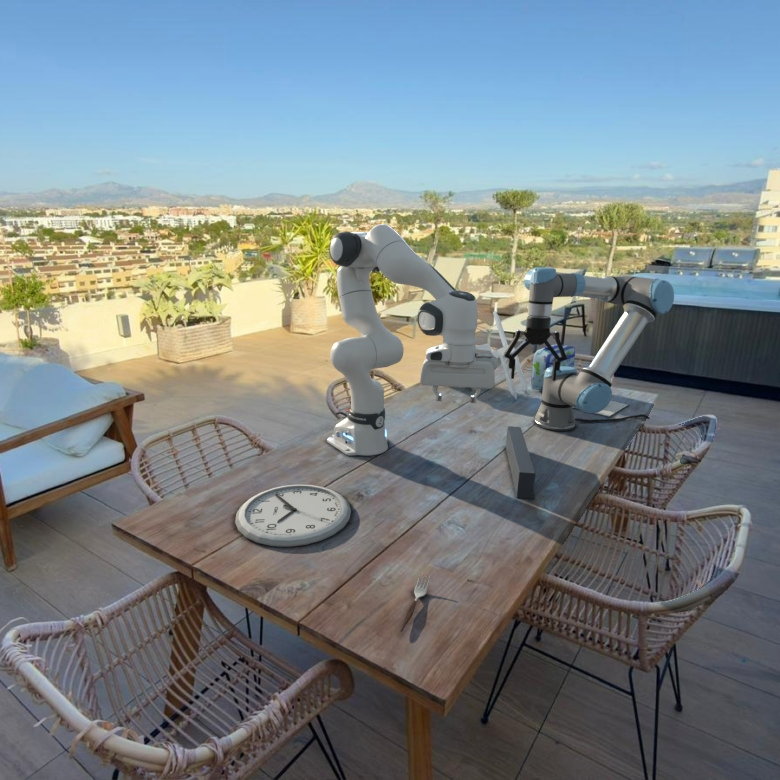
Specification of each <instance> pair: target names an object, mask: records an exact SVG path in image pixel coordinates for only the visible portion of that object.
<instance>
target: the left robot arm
mask: <svg viewBox="0 0 780 780" xmlns="http://www.w3.org/2000/svg"><path fill="white" fill-rule="evenodd" d="M328 247H329V248H328V251H329V256H330V258H331V260H332V262H333V263H334V264H335V265H338V266H339V267H338V268H337V271H336V287H337V288H336V289H337V295H338V300H339V304H340V305H339V306H340V309H341V315H342V319H343V321H344V323H345V324H346V325H347V326H349V327H351V328H354V329H355V330H356V331H357V332H358V333H359V334H360V336H356V337H347V338H344V339H341V340H339V341H338V340H337V341H335V342H334V343H333V345H332V346H331V349H330V351H329V352H330V353H329V358H330V363H331V365H332V366H333V367H334V369H335V370H336V371H337V372H338V373H341V374H342V375H343V376H344V378H345V379H346V380H347V383H348V385H349V389H350V390H349V393H350V407H348V408H345V412H344V411H337V412H336V413H335V415H336V416H338V415H343V416H344V417H345V418H343V419H342V420H341V421H339V422H338V423H336V425H335V426H334V427H333V434H331V435H330V436H329V437H327V439H326V443H328V444H329V445H330V446H332V447H334V448H336V449H337V450H339V451H340V452H341V453H343V454H345V456H348V457H349V456H367V457H368V456H377V455H380V454H383V453H385V452H386V451H387V450H388V449H389V446H388V445H389V444H388V437H387V434H388V433H387V429H386V422H385V420H386V408H385V388H384V386H383V384H382V383H381V382H380V381H378V380H376V379H374V378H372V377H371V370H376V369H383V368H388V367H391V366H394V365H396V364H399V362H401V361H402V359H403V356H404V350H405V349H404V344H403V341H402V340H401V338H400V337H398V336H397V335H395V334H393V333H392V332H391V331H390V330H389V329H388V328H387V327H386V326H385V325H384V323H383V322H382V320H381V319H380V316H379V314H378V311H377V308H376V303H375V299H374V294H373V290H372V287H371V284H370V283H371V282H370V275H371V272H372V273H374V274H377V273H379V272H381V274H382V275H383V277H385V278H386V279H387V280H389V281H390V282H392V283H394V284H396V285H397V284H398V285H404V286H411V287H415V288H419V289H422V290H424V291H426V292H428V294H430V295H431V296H432V297H433V298H434V299H433V300H430V301H427V302H424V303H423V304H421V306H420V307H419V309H418V312H417V317H416V320H417V325H418V328H419V330H420V331H421V332H422V333H423V334H425V336H429V337H439V336H441V337H442V344H439V345H436V346H432V347H431V346H430V347H428V348H427V349H426V351H425V358H424V360H423V363H422V365H421V371H420V376H419V377H420V378H419V382H420V384H421V385H422V386H427V387H428V386H429V387H430V386H431V387H432V391H433V393H434V395H435V396H436V397H435V401H436V402H442V399H443V394H442V393H439V391H438V390H439V387H450V388H469V389H475V393H474V394H472V395H470V404H476V403H477V398H478V397H479V396H480V394H481V392H482V389H488V390H489V389H490V390H491V389H493V388H494V387H495V385H496V374H495V371H496V369H497V368H498V367H497V359H496V357H494V356H492V355H491V354H476V353H475V349H476V346H477V340H476V331H477V327H478V320H479V319H478V313H479V311H478V310H479V309H478V302H477V299H476V296H475V295H474V294H473V293H470V292H468V291H463V290H457V289H456V288H455V287H454V286H453V285H452V284H451V283H450V282H449V281H448V280H447V279H446V278H445V277H444V276H443V275H442V273H440V272H439V271H438V270H437V269H436V268H435V267H434V266H432V265H431V264H430V263H428V262H427V261H426V260H425V259H423V258H421V256H419V255H418V254H417V253H416V252H415V251H414V250H413V249H412V248H411V247H410V245H409V244H408V243H407V242H406V241H405V239H404V238H403V236H401V235H400V234H399V233H398V232H397V231H396V230H395V229H394V228H392V227H391V226H390V225H388V224H383V223H382V224H376V225H375V226H372V228H370V229H369V231H341V232H338V233H335V234H333V236H332V237H331V240H330V242H329V246H328ZM492 357H493V358H492Z"/></svg>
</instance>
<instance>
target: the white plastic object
mask: <svg viewBox="0 0 780 780" xmlns="http://www.w3.org/2000/svg"><path fill="white" fill-rule="evenodd" d="M492 315H493V319H494V321H495V324H496V325H495V326H496V328H497V332H498V335H499V338H500V342H501V345H502V347H500V348H498V349H496V350H495V349H493V348H492V347H491V346H490V344H489V343H488V342H487V343H483V344H479V345H476V349H475V353H476V354H491V355H492V356H494V357H496V359H497V368H499V367H500V366H502V370H503V373H504V376H505V380H506V383H507V386H508V390H509V393H510V394H511V395H512V397H513V398H514V399H515V400H517V392H516V391H517V390H516V388H515V385H514V381H513V379H511V370H510V369H509V364H508V362H509V358H506V357H505V356H504V353H505V351H506V350H507V348H508V346H509V345H510V344H508V341H507V337H506V334H505V331H504V328H503V325H502V321H501V318H500V315H499V314H498V312H497V311H496V310H495V311H492ZM515 349H516V347H514V348H513V349H512V351H511V353H512V352H513V351H514V350H515ZM511 353H510V354H511ZM492 358H493V357H492ZM515 360H516V361H515V370H516V372H517V376H518V380H519V382H520V385H521V389H522V391H523V393H524V395H525V396H526V397H528V396H531V395H530V390H529V388H528V387H529V386H528V384H527V381H526V378H525V375H524V371H523V369H522V368H523V367H522V366H521V362H520V359H519V354H518V355H517V356H516V357H515Z"/></svg>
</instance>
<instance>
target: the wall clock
mask: <svg viewBox="0 0 780 780" xmlns="http://www.w3.org/2000/svg"><path fill="white" fill-rule="evenodd" d="M351 514H352V509H351V504H350V503H349V501H348V500H347V499H346V498H345V497H344V496H343V495H341V494H340V493H338V492H337V491H335V490H333V489H330V488H327V487H323V486H318V485H313V484H290V485H289V484H288V485H282V486H277V487H272V488H269V489H267V490H264V491H261V492H259V493H257V494H255V495H254V496H252V497H250V498H248V499H247V500H246V501H245V502H244V503H243V504H242V505H240V507H239V509H238V510H237V511H236V514H235V520H234V524H235V526H236V529H237V531H238V532H239V533H240V534H241V535H242V536H243V537H245V538H246V539H248V540H250V541H252V542H254V543H257V544H261V545H266V546H270V547H283V548H284V547H285V548H286V547H287V548H289V547H298V546H306V545H311V544H313V543H319V542H322V541H324V540H327V539H328V538H330V537H332V536H334V535H336V534H337V533H339V532H340V531H341V530H343V529H345V526H346V525H347V524H348V522H350V518H351Z"/></svg>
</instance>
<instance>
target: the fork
mask: <svg viewBox="0 0 780 780" xmlns="http://www.w3.org/2000/svg"><path fill="white" fill-rule="evenodd" d="M420 577H421V573H420V574H419V576H418V579H417V583H416V585H415V586H414V591H413V594H414V595H415V599H414V600H413V602H412V603H411V605H409V608H408V609H407V610H406V613H405V617H404V620H403V623H402V625H401V629H400V633H402V632H403V631H404V629H405V627H406V625H408V622H409V621H410V619H411V618H412V616H413V614H414V611H415V608H416V605H417V601H418V599H419V598H422V597H425V596H426V595H427V593H428V589H429V584H430V580H431V576H429V578H428V580H427V577H428V576H427V575H425V579H424V574H422V578H420ZM420 579H421V581H420ZM423 580H424V582H423ZM426 583H427V584H426Z"/></svg>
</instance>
